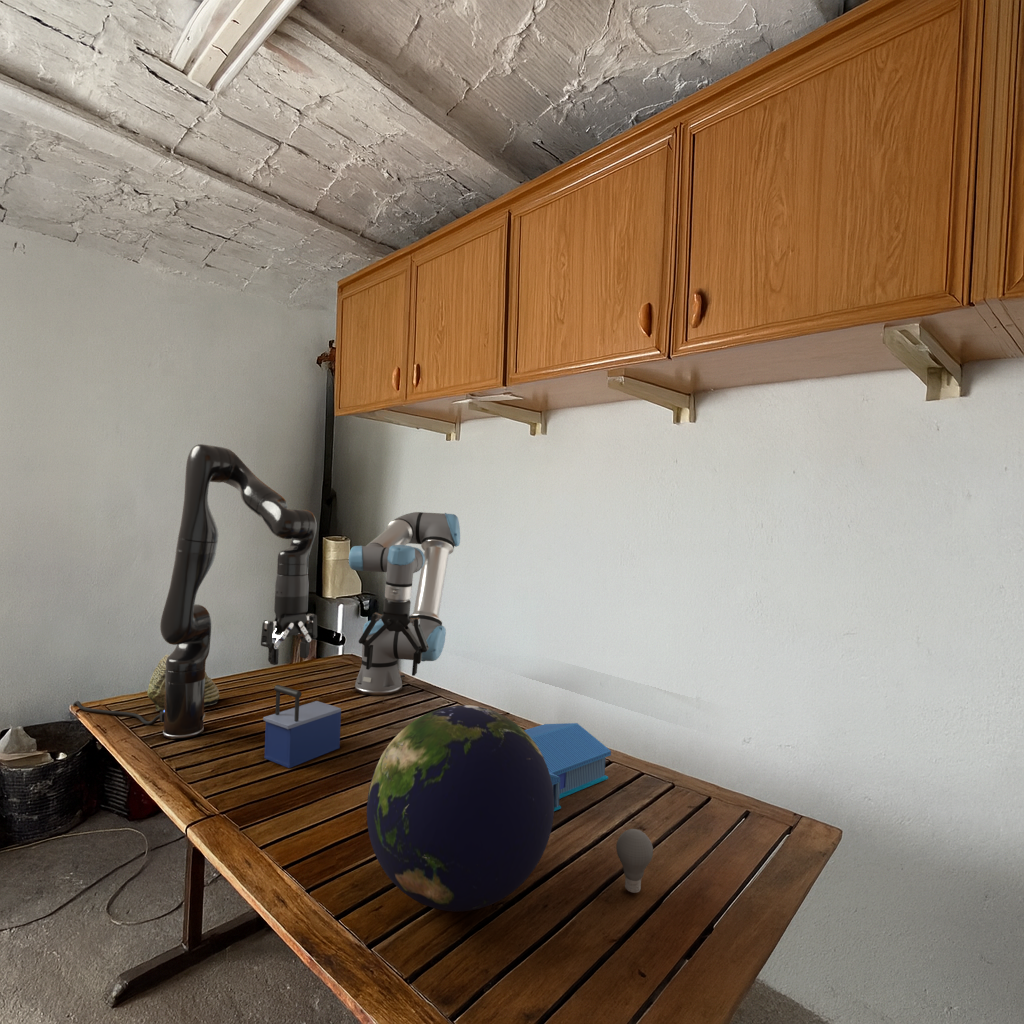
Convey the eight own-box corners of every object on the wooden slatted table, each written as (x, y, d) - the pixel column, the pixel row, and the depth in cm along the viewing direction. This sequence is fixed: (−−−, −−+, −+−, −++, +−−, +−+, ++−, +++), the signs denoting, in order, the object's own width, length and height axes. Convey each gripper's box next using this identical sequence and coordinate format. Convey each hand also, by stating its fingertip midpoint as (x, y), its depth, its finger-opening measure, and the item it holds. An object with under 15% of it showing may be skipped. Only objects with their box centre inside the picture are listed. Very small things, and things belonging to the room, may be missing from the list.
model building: (490, 838, 120) (492, 786, 120) (417, 791, 138) (419, 745, 138) (619, 783, 146) (621, 740, 146) (544, 749, 164) (545, 711, 164)
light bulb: (610, 879, 108) (613, 822, 108) (644, 879, 109) (647, 822, 109) (619, 902, 102) (622, 840, 102) (655, 901, 103) (658, 840, 103)
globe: (322, 922, 94) (330, 722, 94) (423, 829, 122) (430, 674, 122) (507, 988, 83) (517, 762, 83) (572, 869, 111) (580, 699, 110)
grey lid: (288, 729, 146) (289, 695, 146) (263, 720, 151) (264, 687, 151) (341, 711, 159) (342, 680, 159) (316, 703, 164) (317, 673, 164)
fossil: (144, 707, 182) (145, 655, 182) (212, 696, 194) (213, 647, 194) (151, 716, 175) (153, 662, 175) (221, 703, 188) (223, 653, 188)
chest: (289, 768, 147) (290, 728, 147) (264, 758, 152) (265, 719, 152) (339, 748, 160) (341, 711, 159) (315, 739, 165) (316, 704, 164)
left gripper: (276, 598, 143) (273, 669, 143) (326, 591, 155) (323, 658, 155) (255, 594, 147) (253, 663, 147) (305, 588, 159) (303, 652, 159)
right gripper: (351, 596, 180) (345, 669, 181) (437, 607, 177) (430, 681, 179) (360, 591, 187) (354, 661, 189) (442, 601, 184) (436, 672, 186)
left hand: (289, 660), depth 151 cm, fingers open, 8 cm apart
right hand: (391, 671), depth 184 cm, fingers open, 13 cm apart
